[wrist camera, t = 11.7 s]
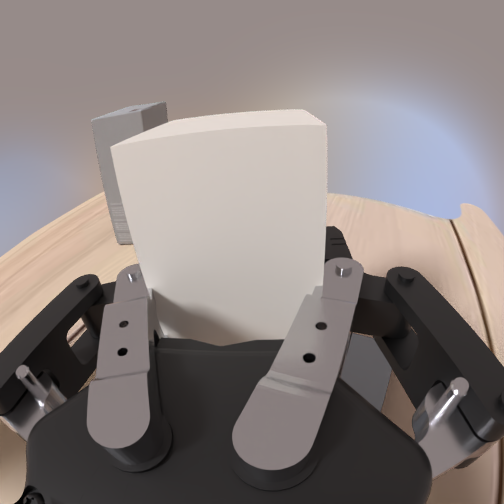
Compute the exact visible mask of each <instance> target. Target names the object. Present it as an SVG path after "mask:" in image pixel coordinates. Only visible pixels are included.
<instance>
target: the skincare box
mask: <svg viewBox="0 0 504 504" xmlns="http://www.w3.org/2000/svg"><path fill="white" fill-rule="evenodd" d="M91 121H92V127H93V134H94V139H95V145H96V151H97V157H98V162H99V167H100V172H101V177H102V182H103V187H104V191H105V196H106V200H107V205H108V208H109V213H110V217H111V221H112V224H113V228H114V232H115V236H116V239H117V243H118V244H133V241H132V238H131V234H130V230H129V227H128V223H127V219H126V215H125V211H124V207H123V203H122V199H121V195H120V191H119V187H118V182H117V178H116V173H115V168H114V164H113V159H112V154H111V149H110V147H111V146H113V145H115V144H117V143H120V142H122V141H124V140H126V139H129V138H131V137H133V136H135V135H138V134H140V133H143V132H145V131H147V130H150V129H152V128H155V127H157V126H160V125H162V124H165V123H168V119H167V108H166V102H157V103H151V104H144V105H137V106H130V107H126V108H123V109H120V110H118V111H115V112H112V113H109V114H106V115H103V116H100V117H97V118H94V119H92V120H91Z"/></svg>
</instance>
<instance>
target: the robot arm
mask: <svg viewBox="0 0 504 504" xmlns="http://www.w3.org/2000/svg"><path fill="white" fill-rule="evenodd" d="M80 318H82V320H83V322H84V324H85V326H86V328H87V330H86V331H85V332H84V333H83V334H82V336H81V337H80V338H79V339H78V340H77V341H76V342H75V343H74V345H73V346H72V347H71V348H70V346H69V344H68V342H67V333H68V331H69V329H70V328H71V327H72V326H73V325H74V324H75V323H76V322H77V321H78V320H79V319H80ZM411 326H412V328H413V329H414V330H415V332H416V333H415V332H414V331H413V329H412V328H411ZM353 332H356V333H361V334H367V335H373V338H374V340H375V342H376V344H377V345H378V347H379V348H380V350H381V352H382V353H383V355H384V356H385V358H386V360H387V361H388V363H389V365H390V366H391V368H392V370H393V371H394V373H395V374H396V376H397V378H398V379H399V381H400V383H401V385H402V386H403V388H404V390H405V391H406V393H407V395H408V396H409V398H410V400H411V402H412V403H413V405H414V407H415V409H416V411H415V413H414V415H413V418H412V427H413V430H414V433H415V440H414V439H412V438H411V437H410V436H409V435H407V434H406V433H405V432H404V431H403V430H401V429H400V428H399V427H398V426H397V425H395V424H394V423H393V422H392V421H391V420H389V419H388V418H387V417H386V416H385V415H383V414H382V413H381V412H380V411H379V410H377V409H376V408H375V407H374V406H373V405H372V404H370V403H369V402H368V401H367V400H366V399H365V398H363V397H362V396H361V395H360V394H359V393H358V392H356V391H355V390H354V389H353V388H352V387H351V386H349V385H348V384H347V383H346V382H345V381H344V380H343V379H341V376H342V372H343V368H344V364H345V361H346V357H347V353H348V350H349V346H350V342H351V338H352V334H353ZM416 334H417V335H416ZM96 368H97V369H96ZM95 369H96V377H95V378H94V379H93V380H92V381H91V382H90V385H88V386H87V387H85V388H84V389H82V390H81V391H80V392H78V391H79V390H80V389H81V387H82V386H83V385H84V383H85V382H86V381H87V379H88V378H89V377H90V376H91V374H92V373H93V372H94V370H95ZM0 420H1V421H2V422H3V423H4V424H5V425H6V426H8V427H9V428H10V429H11V430H12V431H14V432H16V433H17V434H18V435H19V436H20V437H21V438H23V439H24V440H25V441H26V442H27V444H26V461H27V473H26V483H25V489H24V492H23V494H22V496H21V498H20V499H19V500H18V501H17V502H16V503H14V504H426V501H427V499H428V497H429V494H430V491H431V486H432V481H433V480H435V479H436V478H438V477H440V476H442V475H443V474H445V473H447V472H448V471H450V470H451V469H453V468H456V469H460V468H464V467H467V466H468V465H470V464H471V463H472V462H474V461H475V460H476V459H477V458H479V457H480V456H481V455H482V454H484V453H485V452H486V451H487V450H488V449H490V448H491V447H492V446H493V445H494V444H495V443H497V442H498V441H499V440H500V439H501V438H502V437H503V436H504V367H503V366H502V364H501V363H500V362H499V360H498V359H497V358H496V357H495V355H494V354H493V353H492V352H491V351H490V349H489V348H488V347H487V346H486V344H485V343H484V342H483V341H482V340H481V339H480V337H479V336H478V335H477V334H476V333H475V331H474V330H473V329H472V328H471V327H470V326H469V325H468V323H467V322H466V321H465V320H464V319H463V318H462V317H461V316H460V315H459V313H458V312H457V311H456V310H455V309H454V308H453V307H452V306H451V305H450V304H449V303H448V301H447V300H446V299H445V298H444V297H443V296H442V295H441V294H440V293H439V292H438V291H437V290H436V289H435V288H434V287H433V286H432V285H431V284H430V283H429V282H428V281H427V280H426V279H425V278H424V277H423V276H422V275H421V274H420V273H419V272H418V271H416V270H414V269H411V268H408V267H395V268H392V269H390V270H389V271H388V272H387V276H386V278H384V277H378V276H372V275H369V274H366V273H364V269H363V266H362V265H361V264H360V263H359V262H357V261H355V260H353V259H352V256H351V254H350V251H349V249H348V246H347V245H346V241H345V239H344V237H343V234H342V232H341V231H340V230H339V229H337V228H336V227H335V226H327V227H326V240H325V260H324V276H323V286H315V289H314V291H313V293H312V295H311V294H306V296H305V297H304V300H303V302H302V304H301V306H300V308H299V310H298V313H297V315H296V317H295V319H294V321H293V323H292V325H291V327H290V329H289V332H288V334H287V336H286V338H285V339H275V340H252V341H247V342H242V343H236V344H231V345H225V346H217V345H213V344H209V343H205V342H201V341H197V340H193V339H183V338H169V337H168V335H164V334H163V332H162V329H161V326H160V324H159V321H158V318H157V313H156V300H155V297H154V294H153V291H152V288H147V287H146V284H145V280H144V277H143V274H142V271H141V268H140V265H139V264H134V265H131V266H128V267H126V268H125V269H123V270H122V271H121V272H120V273H119V274H118V276H117V280H116V281H115V282H111V283H106V284H102V285H101V283H100V281H99V278H98V277H97V276H96V275H94V274H88V275H84V276H81V277H79V278H77V279H75V280H74V281H73V282H72V283H71V284H69V285H68V286H67V287H66V288H65V289H64V290H63V291H62V292H61V293H60V294H59V295H58V296H56V297H55V298H54V299H53V300H52V301H51V302H50V303H49V304H48V305H47V306H46V307H45V308H44V309H43V310H42V311H41V312H40V313H39V314H38V315H37V316H36V317H35V318H34V319H33V320H32V321H31V322H30V323H29V324H28V325H27V326H26V327H25V328H24V329H23V330H22V331H21V332H20V333H19V334H18V335H17V336H16V337H15V338H14V339H13V340H12V341H11V342H10V343H9V344H8V346H7V347H6V348H5V349H4V350H3V351H2V352H1V353H0Z"/></svg>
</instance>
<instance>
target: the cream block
mask: <svg viewBox="0 0 504 504" xmlns="http://www.w3.org/2000/svg"><path fill="white" fill-rule="evenodd" d="M110 149H111V154H112V159H113V164H114V168H115V173H116V178H117V182H118V187H119V191H120V195H121V199H122V203H123V207H124V211H125V215H126V219H127V223H128V227H129V230H130V234H131V238H132V241H133V245H134V248H135V251H136V255H137V258H138V261H139V265H140V268H141V271H142V274H143V277H144V280H145V284H146V287H147V288H152V291H153V294H154V297H155V300H156V313H157V318H158V321H159V324H160V326H161V329H162V332H163V334H164V335H168V337H169V338H183V339H193V340H197V341H201V342H205V343H209V344H213V345H217V346H225V345H231V344H236V343H242V342H247V341H252V340H275V339H285V338H286V336H287V334H288V332H289V329H290V327H291V325H292V323H293V321H294V319H295V317H296V315H297V313H298V310H299V308H300V306H301V304H302V302H303V300H304V297H305V296H306V294H311V295H312V293H313V291H314V289H315V286H323V276H324V260H325V240H326V212H327V125H326V124H324V123H323V122H322V121H320V120H319V119H317V118H316V117H314V116H313V115H312V114H310V113H309V112H307V111H306V110H304V109H298V110H270V111H253V112H239V113H228V114H218V115H209V116H201V117H194V118H187V119H180V120H174V121H170V122H168V123H165V124H162V125H160V126H157V127H155V128H152V129H150V130H147V131H145V132H143V133H140V134H138V135H135V136H133V137H131V138H129V139H126V140H124V141H122V142H120V143H117V144H115V145H113V146H111V147H110Z"/></svg>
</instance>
